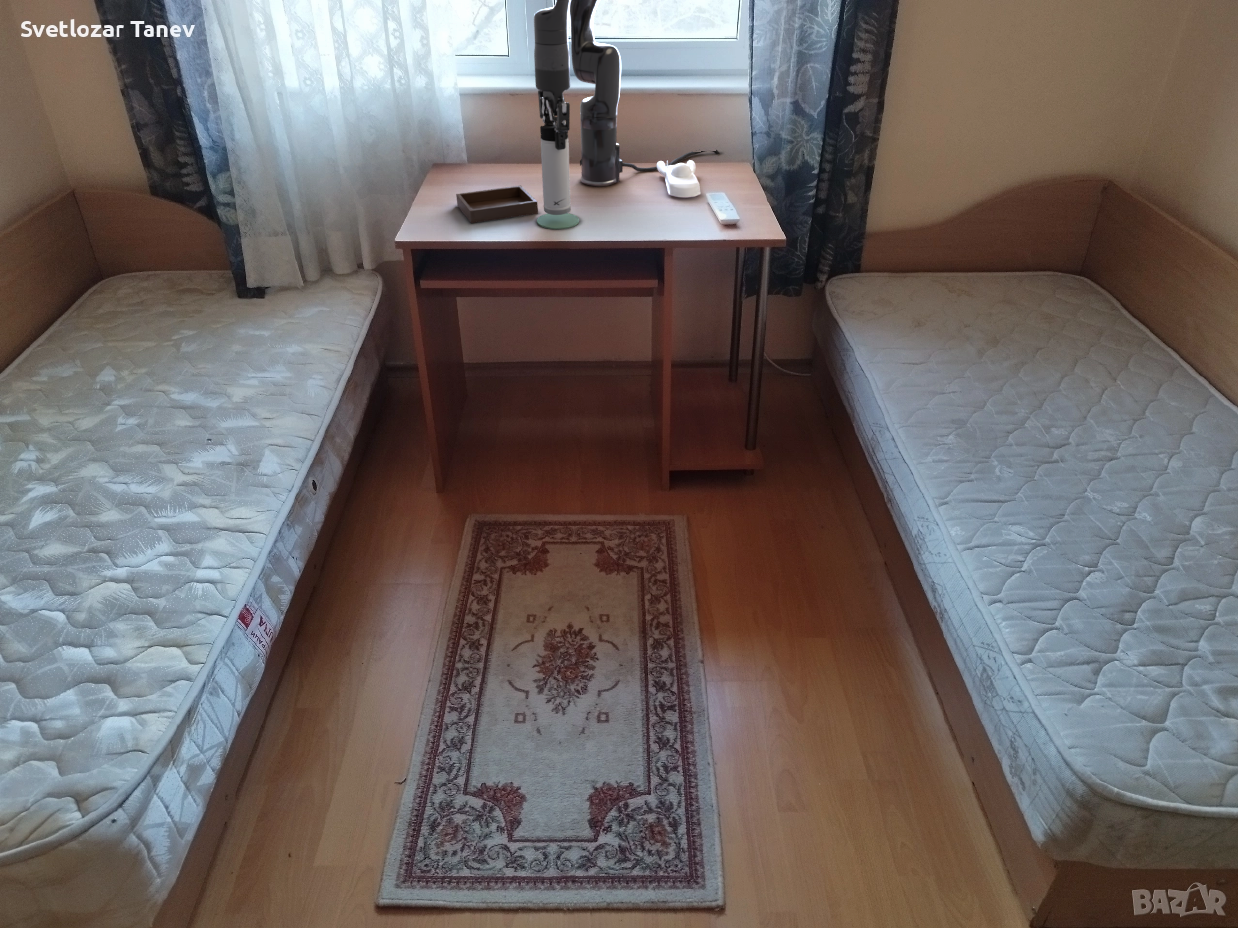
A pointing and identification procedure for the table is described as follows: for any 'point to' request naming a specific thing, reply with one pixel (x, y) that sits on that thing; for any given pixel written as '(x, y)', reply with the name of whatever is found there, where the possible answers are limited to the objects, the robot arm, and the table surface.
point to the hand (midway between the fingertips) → (555, 144)
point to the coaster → (558, 221)
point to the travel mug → (555, 172)
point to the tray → (496, 204)
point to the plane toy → (680, 178)
